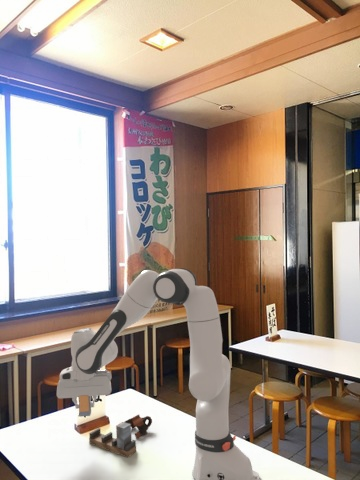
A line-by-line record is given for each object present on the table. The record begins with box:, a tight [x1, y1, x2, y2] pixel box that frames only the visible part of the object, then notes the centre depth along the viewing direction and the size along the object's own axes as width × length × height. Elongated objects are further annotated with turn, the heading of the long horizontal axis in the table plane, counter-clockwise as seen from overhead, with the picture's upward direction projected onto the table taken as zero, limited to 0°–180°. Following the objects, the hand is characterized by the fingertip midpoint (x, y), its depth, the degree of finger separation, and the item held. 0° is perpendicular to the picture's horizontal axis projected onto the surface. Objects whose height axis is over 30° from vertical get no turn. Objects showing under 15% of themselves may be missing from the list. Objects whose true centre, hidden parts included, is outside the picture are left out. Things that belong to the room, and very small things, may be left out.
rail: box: [88, 421, 137, 458], centre depth 155 cm, size 20×5×10 cm, turn 56°
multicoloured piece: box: [78, 395, 92, 417], centre depth 153 cm, size 4×4×8 cm
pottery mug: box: [124, 414, 153, 440], centre depth 167 cm, size 12×10×8 cm
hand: (85, 407), depth 153 cm, fingers closed on multicoloured piece, 4 cm apart
